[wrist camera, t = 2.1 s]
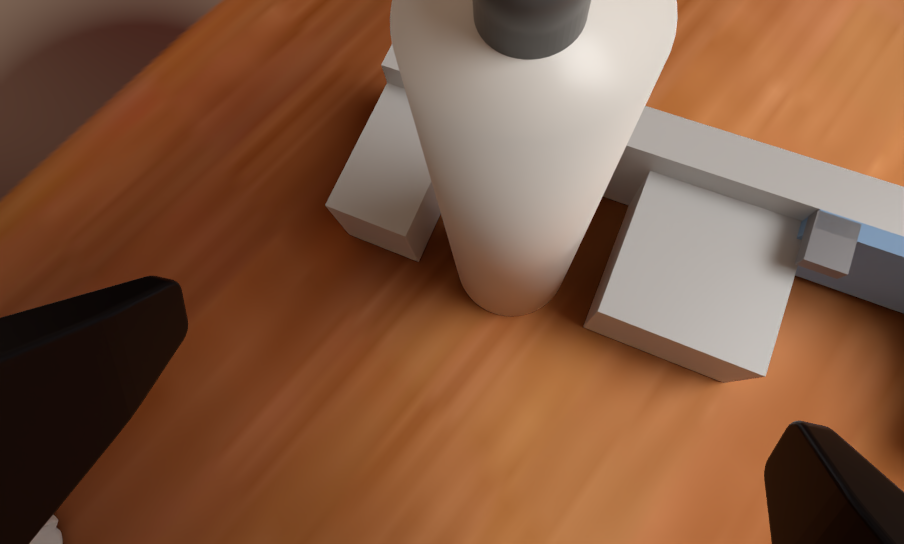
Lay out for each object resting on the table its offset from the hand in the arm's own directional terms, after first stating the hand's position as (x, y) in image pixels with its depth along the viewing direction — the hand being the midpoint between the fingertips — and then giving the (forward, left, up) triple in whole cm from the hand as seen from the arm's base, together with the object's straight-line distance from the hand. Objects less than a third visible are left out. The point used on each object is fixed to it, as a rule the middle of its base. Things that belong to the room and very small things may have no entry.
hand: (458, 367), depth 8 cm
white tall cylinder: (+4, -3, -11) cm, 13 cm away
